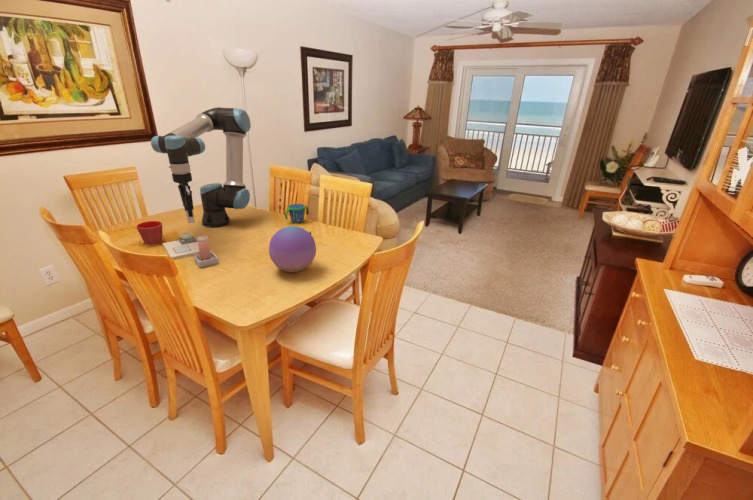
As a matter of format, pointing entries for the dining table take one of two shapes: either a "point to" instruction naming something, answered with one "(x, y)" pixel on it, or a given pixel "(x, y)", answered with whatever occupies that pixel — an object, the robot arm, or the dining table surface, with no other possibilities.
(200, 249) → the tumbler
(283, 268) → the ball
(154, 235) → the flower pot
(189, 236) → the button
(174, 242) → the board
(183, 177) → the robot arm
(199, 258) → the tray
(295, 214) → the snack cup
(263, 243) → the dining table surface
